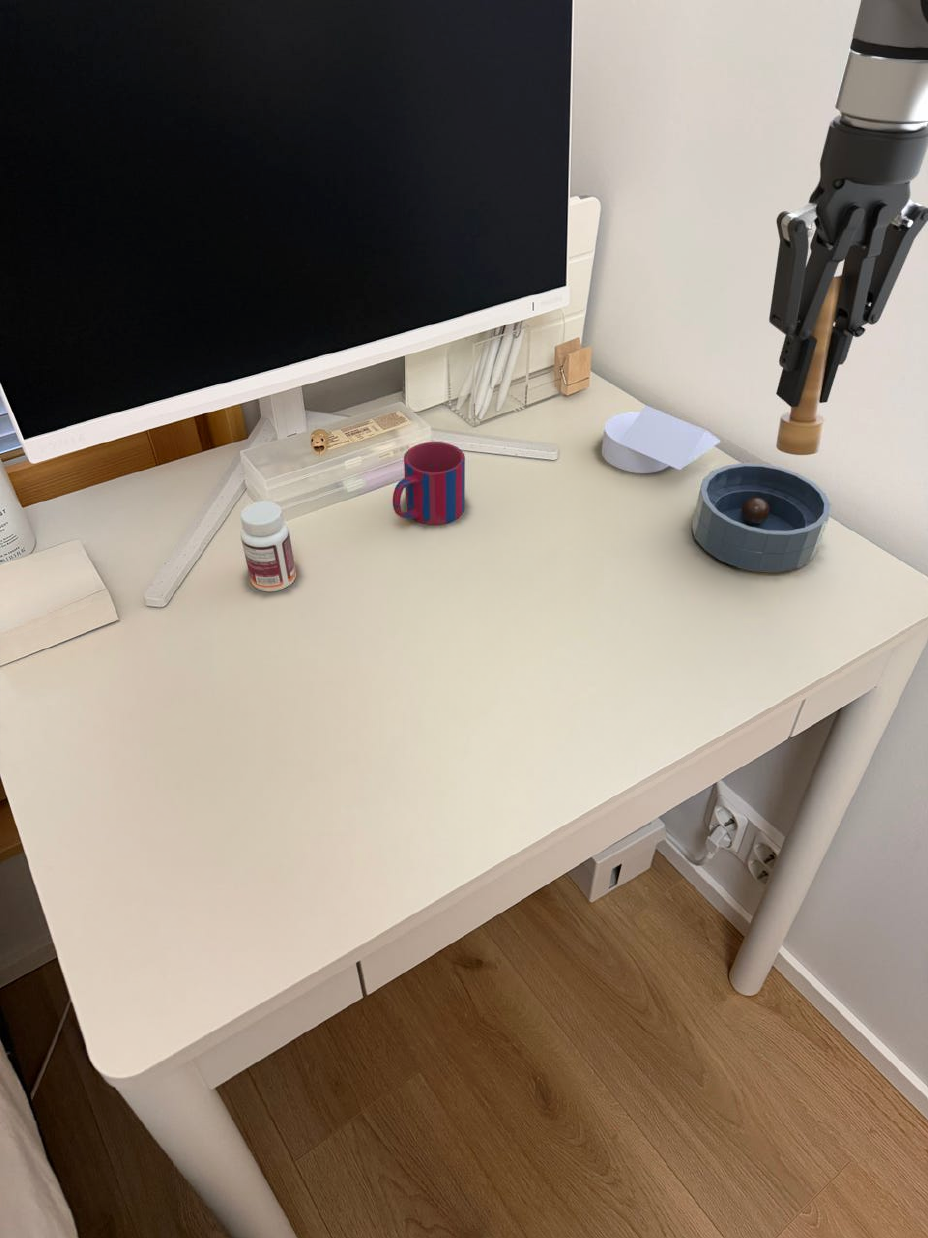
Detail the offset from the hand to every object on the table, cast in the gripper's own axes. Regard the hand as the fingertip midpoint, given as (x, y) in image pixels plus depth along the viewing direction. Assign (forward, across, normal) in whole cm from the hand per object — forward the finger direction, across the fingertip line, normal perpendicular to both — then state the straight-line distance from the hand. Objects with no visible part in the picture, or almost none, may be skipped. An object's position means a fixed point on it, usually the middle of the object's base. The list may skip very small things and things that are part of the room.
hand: (801, 397), depth 82 cm
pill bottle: (+18, +52, -8) cm, 55 cm away
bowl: (+18, 0, -2) cm, 18 cm away
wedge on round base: (+18, +4, -20) cm, 27 cm away
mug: (+18, +34, -16) cm, 41 cm away
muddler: (+5, 0, +2) cm, 5 cm away
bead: (+16, -1, -4) cm, 16 cm away
